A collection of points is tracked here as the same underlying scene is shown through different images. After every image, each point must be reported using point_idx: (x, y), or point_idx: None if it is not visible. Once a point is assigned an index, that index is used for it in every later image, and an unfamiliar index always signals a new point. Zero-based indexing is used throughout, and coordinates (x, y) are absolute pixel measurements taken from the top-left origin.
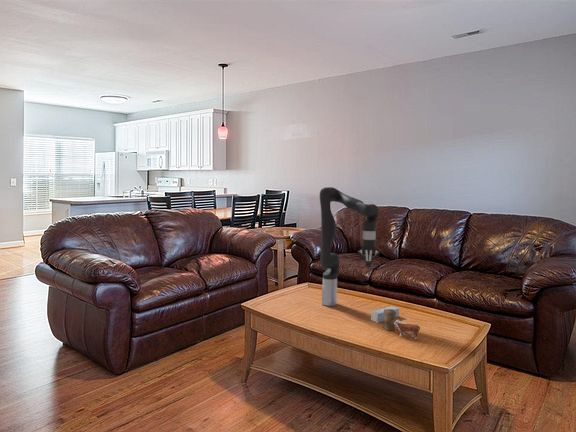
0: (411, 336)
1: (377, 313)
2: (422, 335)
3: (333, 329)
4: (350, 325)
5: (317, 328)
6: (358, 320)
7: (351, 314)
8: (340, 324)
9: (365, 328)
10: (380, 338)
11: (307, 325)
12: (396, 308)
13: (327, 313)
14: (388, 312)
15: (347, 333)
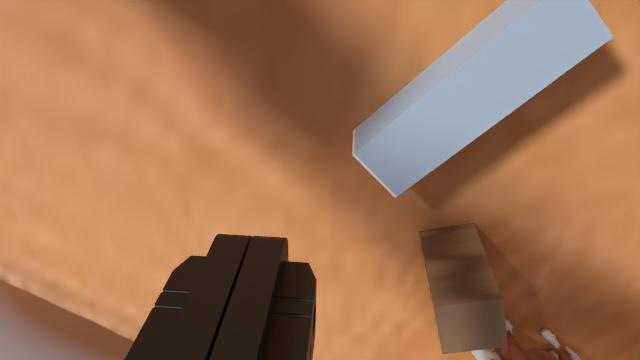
0: (541, 334)
1: (396, 187)
2: (609, 311)
3: (155, 289)
4: (231, 232)
5: (77, 286)
6: (271, 151)
7: (212, 38)
8: (175, 226)
9: (315, 261)
10: (383, 356)
11: (14, 258)
12: (586, 44)
13: (41, 47)
14: (454, 351)
15: None
